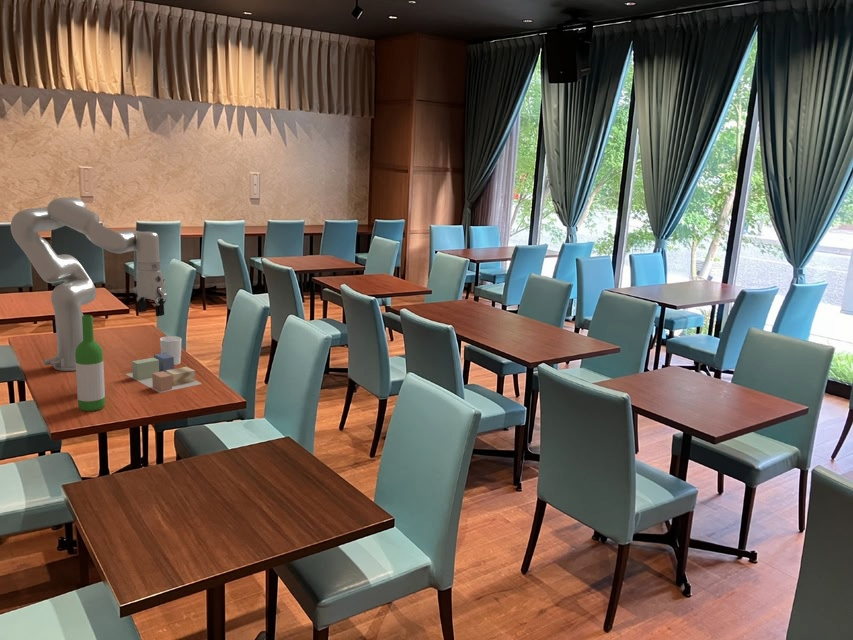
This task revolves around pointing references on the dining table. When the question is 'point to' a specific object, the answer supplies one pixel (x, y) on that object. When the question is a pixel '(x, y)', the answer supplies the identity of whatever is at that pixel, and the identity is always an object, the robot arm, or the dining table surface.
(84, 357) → the wine bottle
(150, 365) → the sage block
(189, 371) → the beech block
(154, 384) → the terracotta block
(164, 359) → the slate blue block
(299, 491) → the dining table surface
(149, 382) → the felt placemat
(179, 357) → the white cup
